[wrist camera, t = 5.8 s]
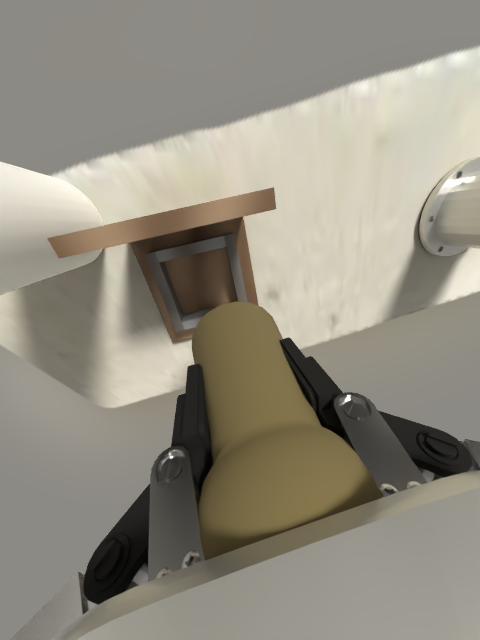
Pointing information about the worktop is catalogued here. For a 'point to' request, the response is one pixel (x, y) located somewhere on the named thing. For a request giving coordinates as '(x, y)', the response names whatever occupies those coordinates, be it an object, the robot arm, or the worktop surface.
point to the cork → (265, 438)
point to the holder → (185, 255)
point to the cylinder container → (39, 226)
